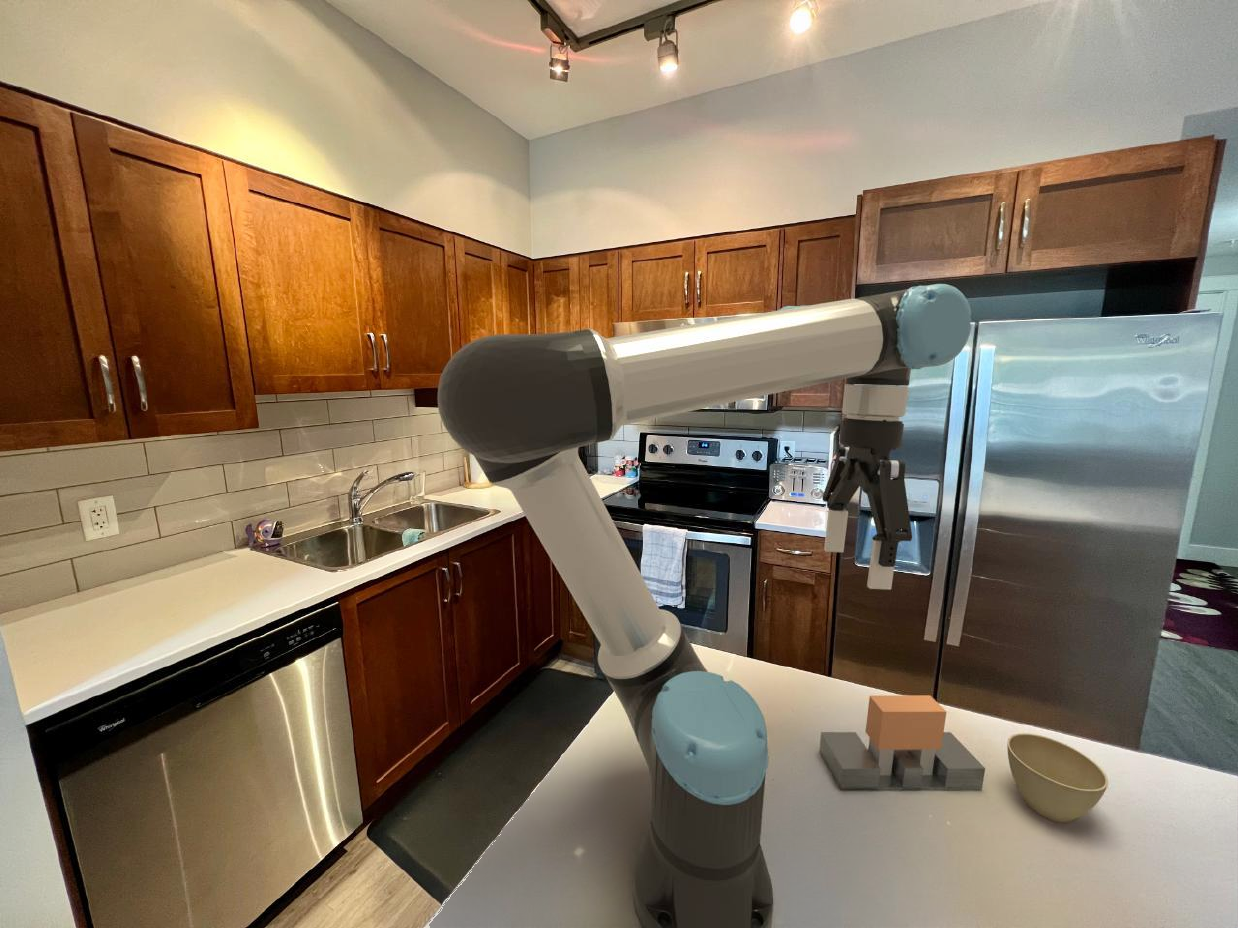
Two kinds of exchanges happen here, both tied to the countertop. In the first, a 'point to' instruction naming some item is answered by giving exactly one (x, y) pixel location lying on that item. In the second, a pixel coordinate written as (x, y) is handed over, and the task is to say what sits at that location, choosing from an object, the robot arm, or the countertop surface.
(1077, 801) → the beige planter bowl
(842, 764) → the grey block fixture
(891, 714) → the orange block
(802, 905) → the countertop surface
